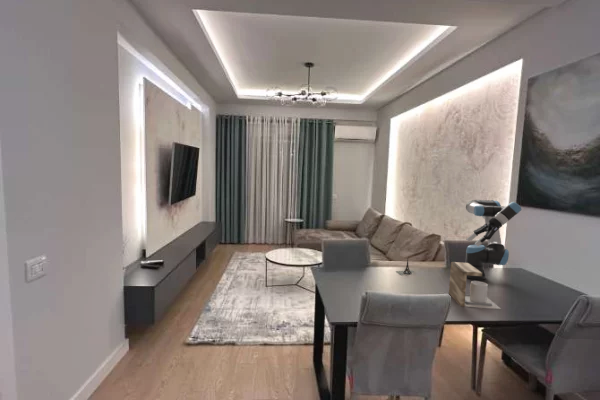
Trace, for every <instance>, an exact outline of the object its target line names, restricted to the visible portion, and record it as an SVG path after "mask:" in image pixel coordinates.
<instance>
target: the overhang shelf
mask: <svg viewBox="0 0 600 400" xmlns="http://www.w3.org/2000/svg"><path fill="white" fill-rule="evenodd" d="M467 275H470V276H482V272H480V271H479V270H478V269H476V268H475V267H473V266H472V265H470V264H469V263H466V262H460V261H458V262H456V261H451V262H450V272H449V285H448V286H449V287H448V294H449V296H450V297H452V298H453V300H454V301H455V302H456V303H457V304H458V306H459V307H463V308H464V307H466V306H465V294H466V292H467V291H466V288H467V279H468V278H467Z"/></svg>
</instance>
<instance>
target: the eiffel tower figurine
mask: <svg viewBox="0 0 600 400" xmlns="http://www.w3.org/2000/svg"><path fill="white" fill-rule="evenodd" d="M395 273H396V274H398V275H400V276H404V275H408V276H410V275H412V274H413V273H415V271H413V270H410V267H409V257H407V261H406V267H405V268H404V270H397V271H395Z"/></svg>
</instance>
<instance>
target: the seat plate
mask: <svg viewBox="0 0 600 400" xmlns="http://www.w3.org/2000/svg"><path fill="white" fill-rule="evenodd" d="M464 307H467V308H477V309H478V308H479V309H492V310H501V307H500V306H498V305H497V303H495V302H494V301H493V300H491V299H490V298H489V297H488V296H487V301H486V303H479V302H472V301H471V300H470V293H465V306H464Z"/></svg>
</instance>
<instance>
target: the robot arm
mask: <svg viewBox="0 0 600 400" xmlns="http://www.w3.org/2000/svg"><path fill="white" fill-rule="evenodd" d="M465 210H466V211H467V212H468V213H470V214H473V215H474V216H475V217H481V218H482V219H484V224H483V225H482V226H480V227H477V228H476V229H474V230H473V233H472V234H471V235H469V236H468V237H467V238H466V240H467V241H468V242H469V243H470V242H471V241H473V240H474V239H475V238H476V237H479V235H481V234H483V233H484V235H482V236H481V238H479V239H477V241H475V243H474V244H470V245H468V246H467V247H466V249H465V250H466V251H465V263H469V264H470V265H472V266H473V267H475V268H476V269H478V270H479V271H480V272H482V276H470V275H467V278H466V279H472V280H475V281H480V280H481V281H482V280H486V272H485V268H484V265H495V266H505V265H507V263H508V261H509V258H510V257H509V255H510V251H509V249H508V248H506V247H505V246H504V244H502V240H501V233H500V232H501V231H500V228H502V227H503V225H506V224H507V223H508V222H509V221H510V220H512V219H513V218H514V217H515V216H516V215H518V214H519V213H520V212H521V211H522V207H521V206H520V205H519V203H517V202H515V201H511V202H510V203H508V204H507V205H505V206H504V205H503V206H502V204H501V203H500V201H498V200H494V199H491V200H487V199H473V200H470V201H468V202H467V203H466V205H465ZM486 241H487V245H486V246H485V245H484V244H483V243H484V242H486Z"/></svg>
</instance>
